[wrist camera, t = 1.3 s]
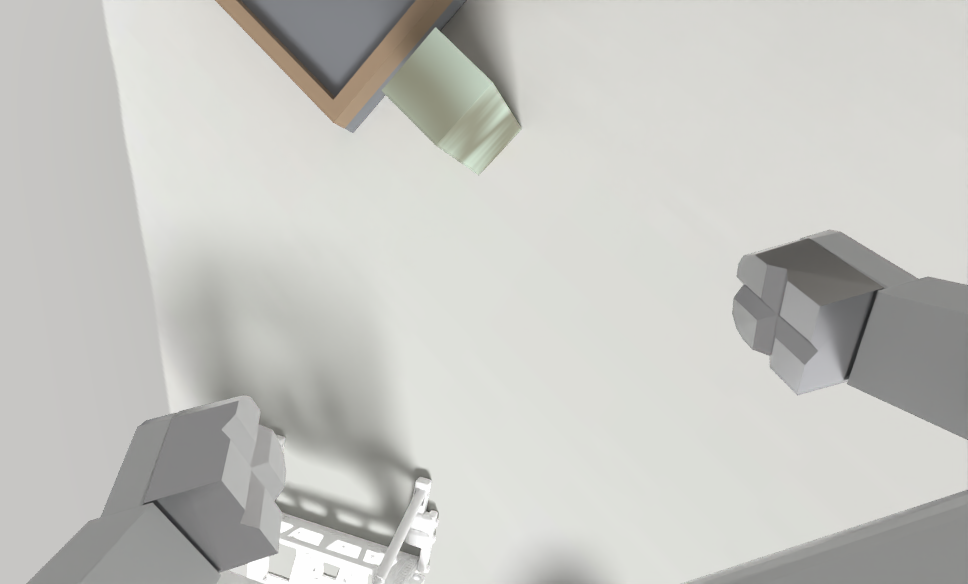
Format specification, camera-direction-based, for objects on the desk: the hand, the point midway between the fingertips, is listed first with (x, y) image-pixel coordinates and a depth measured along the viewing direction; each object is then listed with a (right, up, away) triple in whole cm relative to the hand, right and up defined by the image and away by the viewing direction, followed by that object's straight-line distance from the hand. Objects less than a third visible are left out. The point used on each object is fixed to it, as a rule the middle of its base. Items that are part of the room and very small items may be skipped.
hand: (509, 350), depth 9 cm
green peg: (-1, +11, +26) cm, 28 cm away
